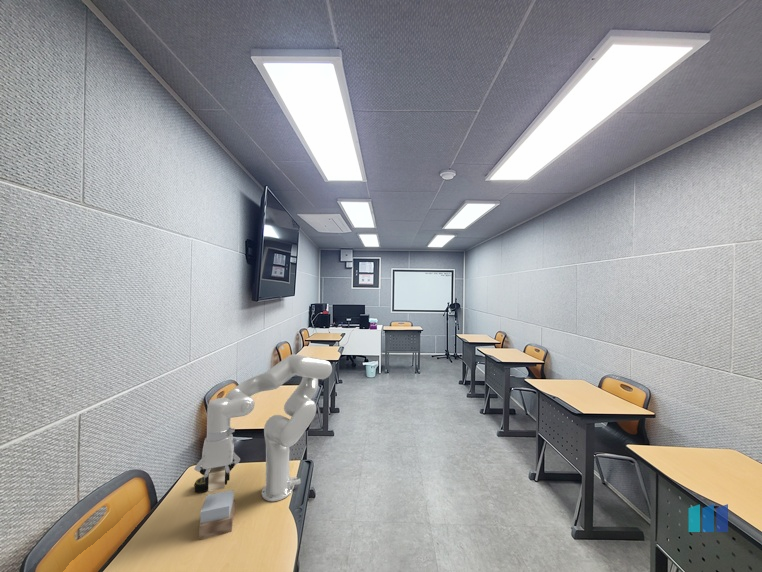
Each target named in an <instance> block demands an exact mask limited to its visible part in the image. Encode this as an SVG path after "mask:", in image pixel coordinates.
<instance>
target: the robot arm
mask: <svg viewBox="0 0 762 572" xmlns="http://www.w3.org/2000/svg"><path fill="white" fill-rule="evenodd" d="M332 372H333V367H332V364H331V362H330V361H328V360H326V359H322V358H318V357H313V356H310V357H308V356H305V355H301V354H296V353H293V354H290V355H288V356H286V357H285V358H283V359H282V360H280V361H279V362H277V364H275V365H274V366H272V367H271V368H270V369H268V370H267V371H265V372H263V373H260V374H258V375H255V376H253V377H251V378H248V379H246V380H243V382H241V383H240V384H238V385H236V386H235V387H233V388H232V389H231V390H230V391H229V392H228V393H227V394H226V395H225V397H218V398H215V399H211V401H209V402H208V404H207V409H206V410H207V411H206V413H207V415H206V416H207V418H206V437H205V438H204V442H203V447H202V451H201V454H202V455H201V459H199V461H198V462H197V464H196V465H195V466H194V470H195V471H196V472H198V473H200V474H201V475H202V476H203V477H205V485H207V489H208V485H209V472H210V469H211V468H216V467H221V466H225V470H226V472H225V486H226V485H227V484H228V481H230V476H231V471H232V470H233V468H234V467H236V466H237V465H238V463H240V462H241V458H240V457H239V455H237V454H236V452H235V443H234V442H235V441H234V436H233V433H235V428H234V427H233V428H232V427H231V419H232V418H241V417H245V416H248V415H249V414H251V413H252V411H253V410H254V408H255V401H254V398H252V396H253V395H254V396H255V395H256V394H259V393H261V392H265V391H266V392H267V391H273V390H277V389H278V388H280V387H281V386H282V385H284V383H286V382H288V381H289V380H290V379H291V378H293V377H294V376H298V377H302V378H301V381H300V383H299V385H298V386H297V388H296V389H295V390H294V391H293V393H291V395H290V396H289V398H288V399H287V400H286V401H285V403H284V405H283V411H284V413H285V414H286V415H288V416H289V417H291V418H288V417H286V416H284V415H281V414H275V415H272V416H271V417H269V418H268V419H267V420H266V422H265V424H264V429H263V434H264V443H265V485H264V486H263V488H262V490H261V496H262V499H264V500H265V501H267V502H277V501H281V500H283V499H285V498H287V497H289V496H290V495H291V494H292V492H293V490H294V486H296V485H301V478H298V476H294V477H291V474H290V447H292V446H294V445H295V444H296V443H297V442H298V441H299V440H300V439H301V437H302V436H303V434H304V433H305V431H306V430H307V428H308V427H309V426H310V424H311V423H312V422H313V420H314V418H315V417H316V416H315V415H316V413H317V405H316V402H315V401H314V400H312V399H313V397H314V396H315V395H316V392H317V390H318V388H319V380H325V379H327V378H329V377H330V375H331V374H332ZM233 460H234V461H233Z"/></svg>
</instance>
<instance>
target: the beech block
mask: <svg viewBox="0 0 762 572" xmlns="http://www.w3.org/2000/svg"><path fill="white" fill-rule="evenodd" d="M225 472H226V470H225V466H221V467H216V468H210V471H209V485H208V490H207V491H208V493H209V492H214V491H217V490H218V491H220V490H222V489H225V486H226V485H225Z"/></svg>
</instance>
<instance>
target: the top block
mask: <svg viewBox="0 0 762 572" xmlns="http://www.w3.org/2000/svg"><path fill="white" fill-rule="evenodd" d="M234 492H235V491H234V489H232V490H231V489H230V490H227V491H226V490H225V491H219V492H216V493H211V494H207V495H206V497H205V500H204V502H203V505H202V507H201V510H200V516H199V517H200V522H199V523H200V524H202V523H206V522H211V521H215V520H220V519H224V518H229V516H230V512H231V508H232V504H233V500H235V499H234V497H235V496H234ZM200 524H199V525H200Z"/></svg>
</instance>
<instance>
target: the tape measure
mask: <svg viewBox="0 0 762 572" xmlns="http://www.w3.org/2000/svg"><path fill="white" fill-rule="evenodd" d="M193 490H194V491H195V492H196V493H203V492H206V491H208V489H207V485H205V477H204V476H202V477H201V476H200V477H199V478H197V479H196V481H195V482H194V484H193Z"/></svg>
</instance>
